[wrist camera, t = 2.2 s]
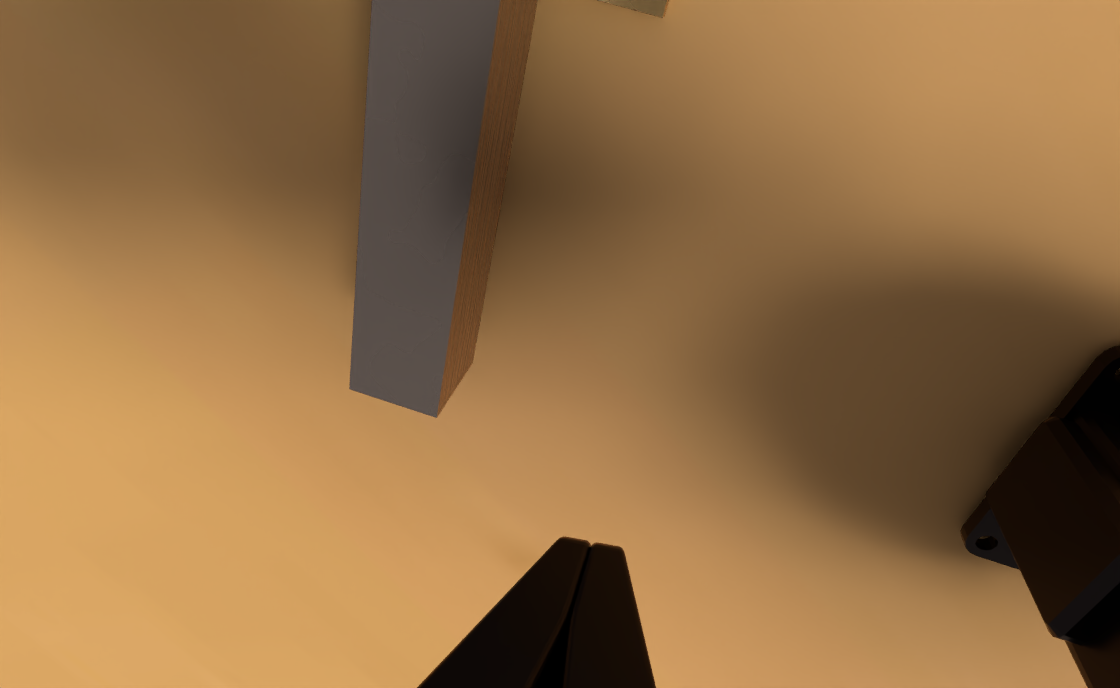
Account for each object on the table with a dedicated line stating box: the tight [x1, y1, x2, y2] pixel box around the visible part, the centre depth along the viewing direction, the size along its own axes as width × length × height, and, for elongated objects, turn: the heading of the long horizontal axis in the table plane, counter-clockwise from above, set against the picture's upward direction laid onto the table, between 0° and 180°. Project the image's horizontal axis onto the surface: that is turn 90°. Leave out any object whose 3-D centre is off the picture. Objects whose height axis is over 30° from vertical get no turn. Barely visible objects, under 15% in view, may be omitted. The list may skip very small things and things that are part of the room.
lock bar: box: [349, 0, 538, 418], centre depth 13 cm, size 14×4×3 cm, turn 168°
